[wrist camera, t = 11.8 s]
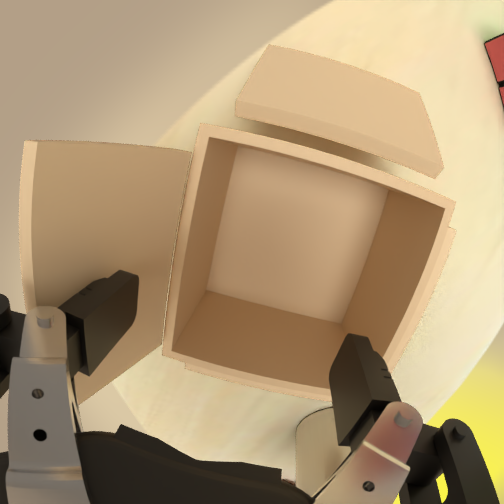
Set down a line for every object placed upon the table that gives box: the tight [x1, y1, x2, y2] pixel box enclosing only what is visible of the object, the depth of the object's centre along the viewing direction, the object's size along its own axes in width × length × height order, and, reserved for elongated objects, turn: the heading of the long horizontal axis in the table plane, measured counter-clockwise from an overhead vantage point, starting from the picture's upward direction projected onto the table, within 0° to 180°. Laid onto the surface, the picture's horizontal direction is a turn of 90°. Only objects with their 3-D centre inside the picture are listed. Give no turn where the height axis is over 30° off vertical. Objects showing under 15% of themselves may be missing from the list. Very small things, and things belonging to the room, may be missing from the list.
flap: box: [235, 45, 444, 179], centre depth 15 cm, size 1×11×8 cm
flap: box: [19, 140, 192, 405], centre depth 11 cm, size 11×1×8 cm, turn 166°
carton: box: [162, 123, 457, 402], centre depth 20 cm, size 15×15×10 cm
